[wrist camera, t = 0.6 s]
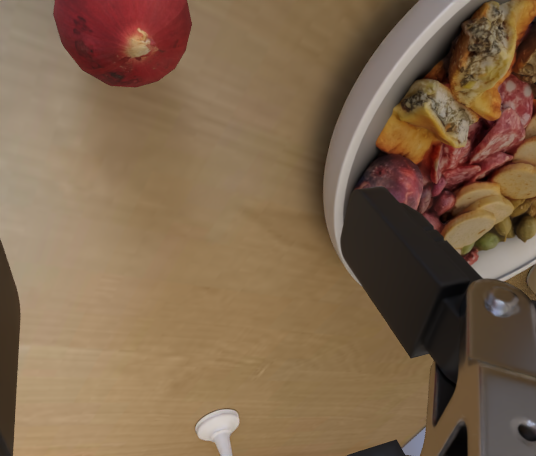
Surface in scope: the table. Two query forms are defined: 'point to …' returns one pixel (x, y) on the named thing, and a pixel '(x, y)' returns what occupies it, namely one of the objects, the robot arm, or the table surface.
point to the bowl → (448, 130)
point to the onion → (124, 37)
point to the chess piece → (218, 429)
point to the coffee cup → (532, 279)
